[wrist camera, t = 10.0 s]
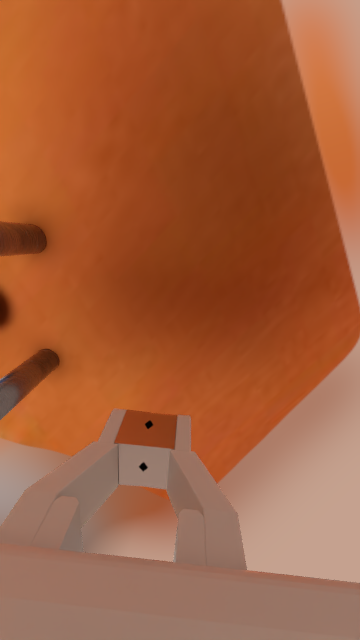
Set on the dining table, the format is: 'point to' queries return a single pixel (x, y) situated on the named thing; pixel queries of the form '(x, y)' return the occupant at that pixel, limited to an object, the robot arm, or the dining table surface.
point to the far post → (25, 379)
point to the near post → (20, 239)
